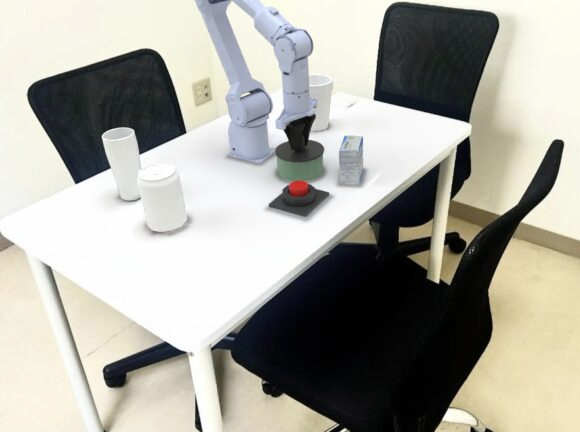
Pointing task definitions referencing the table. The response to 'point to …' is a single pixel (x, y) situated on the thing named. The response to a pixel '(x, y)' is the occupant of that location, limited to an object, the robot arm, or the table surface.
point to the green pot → (300, 169)
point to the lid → (304, 155)
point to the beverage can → (162, 197)
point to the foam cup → (321, 99)
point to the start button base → (299, 201)
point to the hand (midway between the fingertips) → (299, 147)
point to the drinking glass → (123, 160)
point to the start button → (298, 188)
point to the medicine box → (351, 159)
